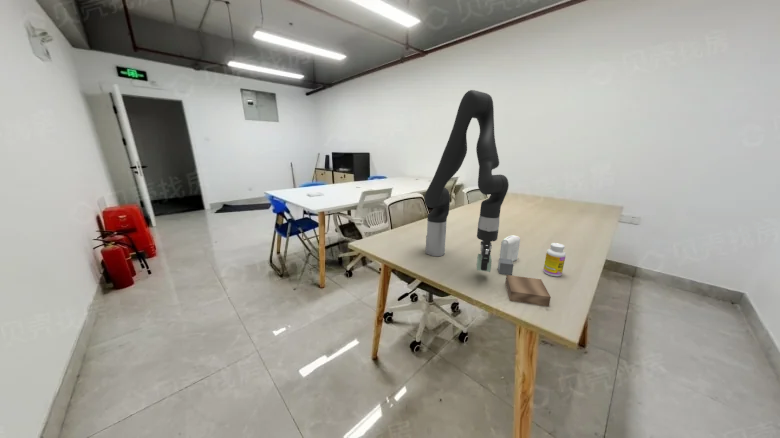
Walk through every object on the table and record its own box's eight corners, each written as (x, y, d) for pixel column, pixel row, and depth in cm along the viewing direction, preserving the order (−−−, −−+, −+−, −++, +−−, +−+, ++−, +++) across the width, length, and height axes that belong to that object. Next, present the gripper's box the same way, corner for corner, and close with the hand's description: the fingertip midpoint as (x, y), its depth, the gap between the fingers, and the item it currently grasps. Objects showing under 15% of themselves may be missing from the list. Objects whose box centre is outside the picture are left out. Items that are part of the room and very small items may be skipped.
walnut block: (509, 301, 87) (511, 291, 86) (505, 284, 98) (506, 274, 97) (548, 307, 83) (550, 296, 82) (539, 288, 95) (541, 279, 93)
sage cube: (476, 270, 99) (478, 258, 98) (476, 264, 104) (477, 253, 102) (490, 272, 98) (491, 260, 96) (489, 266, 102) (490, 255, 101)
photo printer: (510, 256, 121) (513, 232, 118) (518, 259, 118) (522, 235, 114) (497, 261, 116) (500, 236, 112) (506, 265, 112) (509, 239, 109)
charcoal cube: (499, 273, 105) (500, 263, 104) (497, 268, 110) (499, 258, 108) (511, 275, 104) (513, 264, 102) (510, 269, 108) (511, 259, 107)
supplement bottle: (557, 278, 101) (563, 249, 97) (540, 272, 106) (545, 244, 102) (564, 273, 104) (570, 245, 101) (547, 268, 109) (552, 240, 106)
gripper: (477, 220, 103) (473, 258, 108) (478, 232, 90) (473, 273, 95) (496, 222, 101) (491, 260, 106) (500, 234, 88) (494, 276, 93)
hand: (483, 266), depth 101 cm, fingers closed on sage cube, 5 cm apart
